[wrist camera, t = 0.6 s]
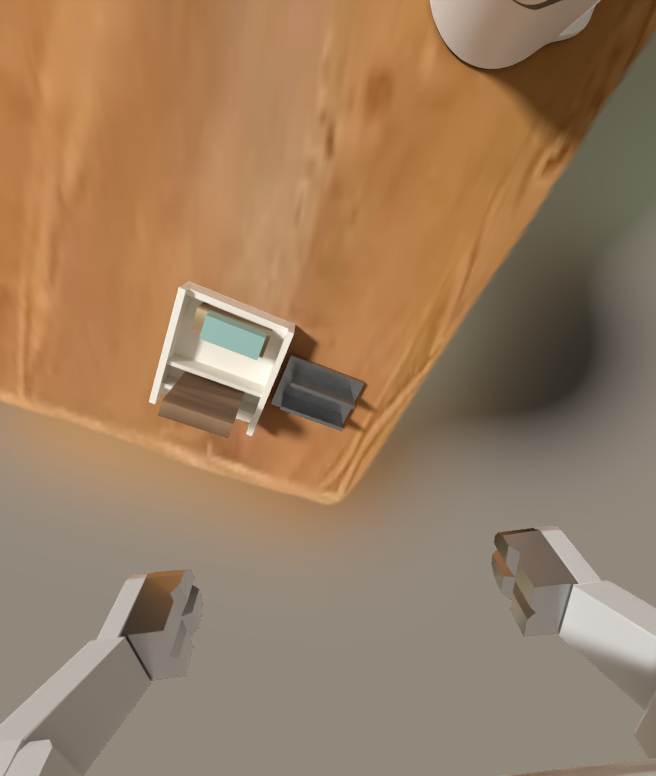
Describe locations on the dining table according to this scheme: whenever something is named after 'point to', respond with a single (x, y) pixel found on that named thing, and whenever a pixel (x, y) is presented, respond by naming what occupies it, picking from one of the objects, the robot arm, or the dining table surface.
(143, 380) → the dining table surface
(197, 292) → the rack
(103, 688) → the robot arm
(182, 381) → the walnut board
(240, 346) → the teal offcut
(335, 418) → the stand
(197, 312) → the oak offcut
